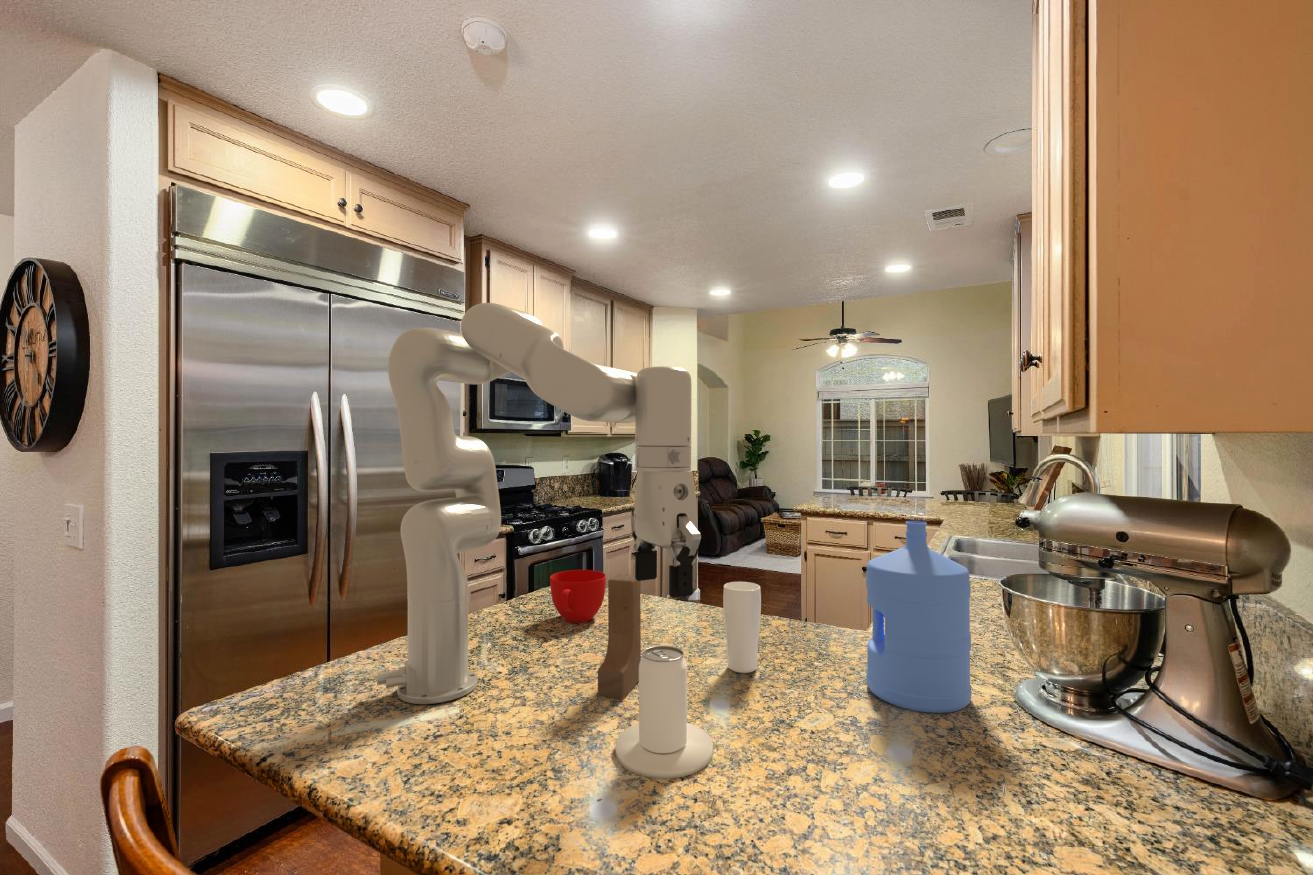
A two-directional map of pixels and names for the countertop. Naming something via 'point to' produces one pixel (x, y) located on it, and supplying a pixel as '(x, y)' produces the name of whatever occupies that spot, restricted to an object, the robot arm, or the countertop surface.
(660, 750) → the can
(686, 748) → the white dome
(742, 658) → the drinking glass
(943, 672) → the water jug
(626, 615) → the wooden block
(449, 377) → the robot arm
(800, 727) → the countertop surface
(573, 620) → the ceramic cup
